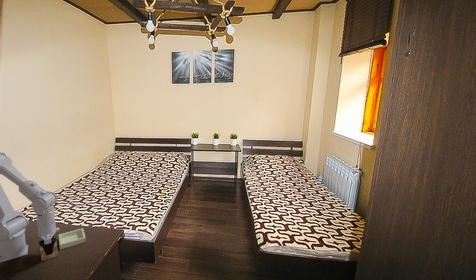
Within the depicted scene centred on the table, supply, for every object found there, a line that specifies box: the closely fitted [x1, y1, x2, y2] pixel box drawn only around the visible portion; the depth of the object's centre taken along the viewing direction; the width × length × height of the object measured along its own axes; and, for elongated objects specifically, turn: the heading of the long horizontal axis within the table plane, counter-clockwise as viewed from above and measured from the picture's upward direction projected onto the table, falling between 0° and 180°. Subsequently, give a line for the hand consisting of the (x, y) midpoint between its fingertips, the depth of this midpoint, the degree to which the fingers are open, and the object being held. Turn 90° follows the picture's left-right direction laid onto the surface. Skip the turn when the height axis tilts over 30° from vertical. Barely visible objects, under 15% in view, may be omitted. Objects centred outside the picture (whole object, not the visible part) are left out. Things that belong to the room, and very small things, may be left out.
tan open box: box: [35, 240, 59, 262], centre depth 99 cm, size 7×5×5 cm
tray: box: [58, 227, 87, 251], centre depth 110 cm, size 10×10×2 cm
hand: (49, 250), depth 100 cm, fingers closed on tan open box, 5 cm apart
